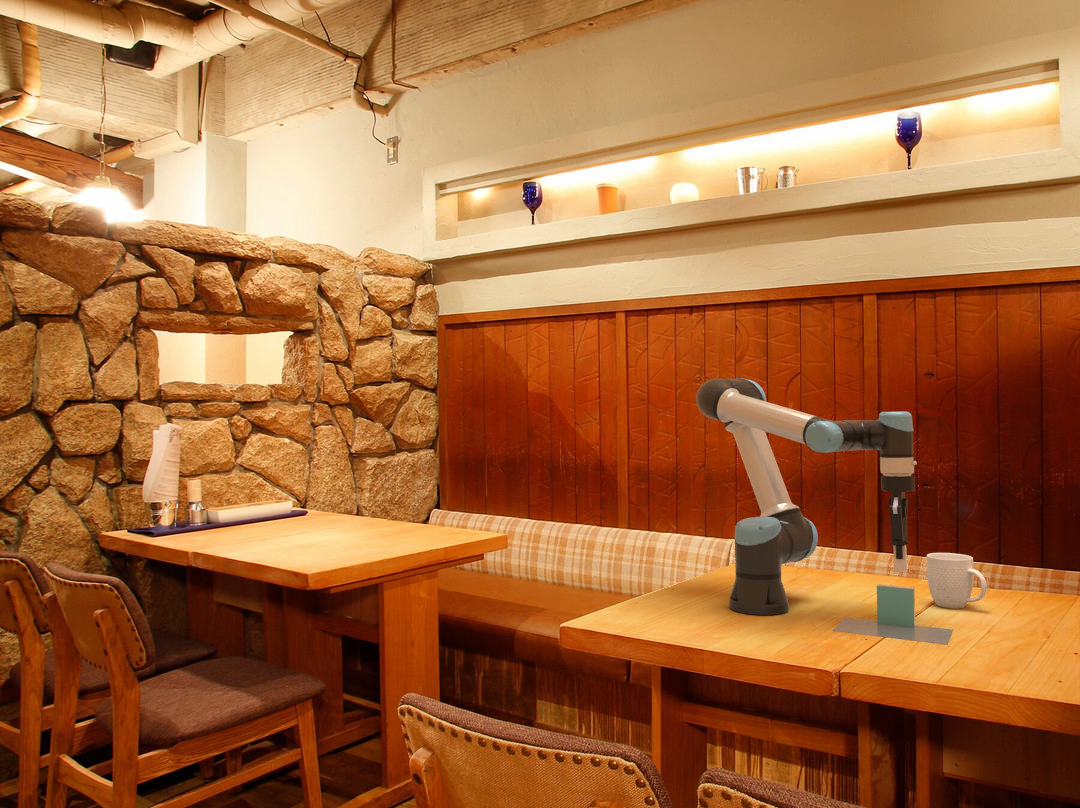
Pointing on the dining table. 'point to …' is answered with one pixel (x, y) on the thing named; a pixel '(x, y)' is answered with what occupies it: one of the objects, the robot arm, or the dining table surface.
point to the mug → (952, 579)
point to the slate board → (894, 631)
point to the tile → (896, 605)
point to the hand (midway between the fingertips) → (900, 571)
